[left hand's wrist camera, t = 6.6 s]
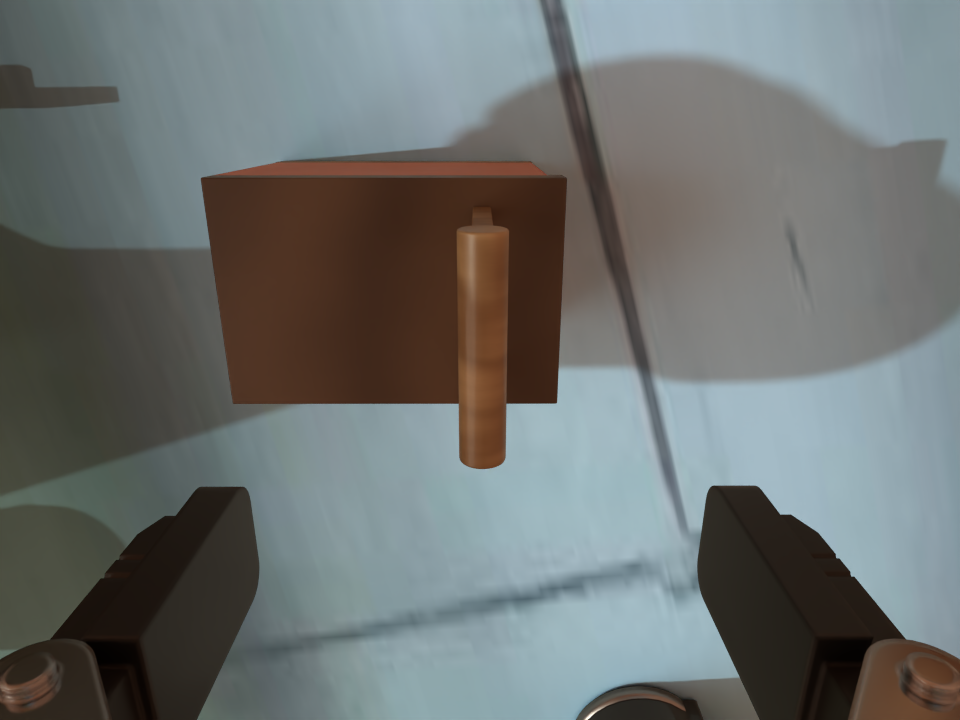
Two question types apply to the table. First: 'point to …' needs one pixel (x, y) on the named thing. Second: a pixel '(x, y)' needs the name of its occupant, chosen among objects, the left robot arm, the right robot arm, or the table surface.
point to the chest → (393, 168)
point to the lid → (392, 292)
